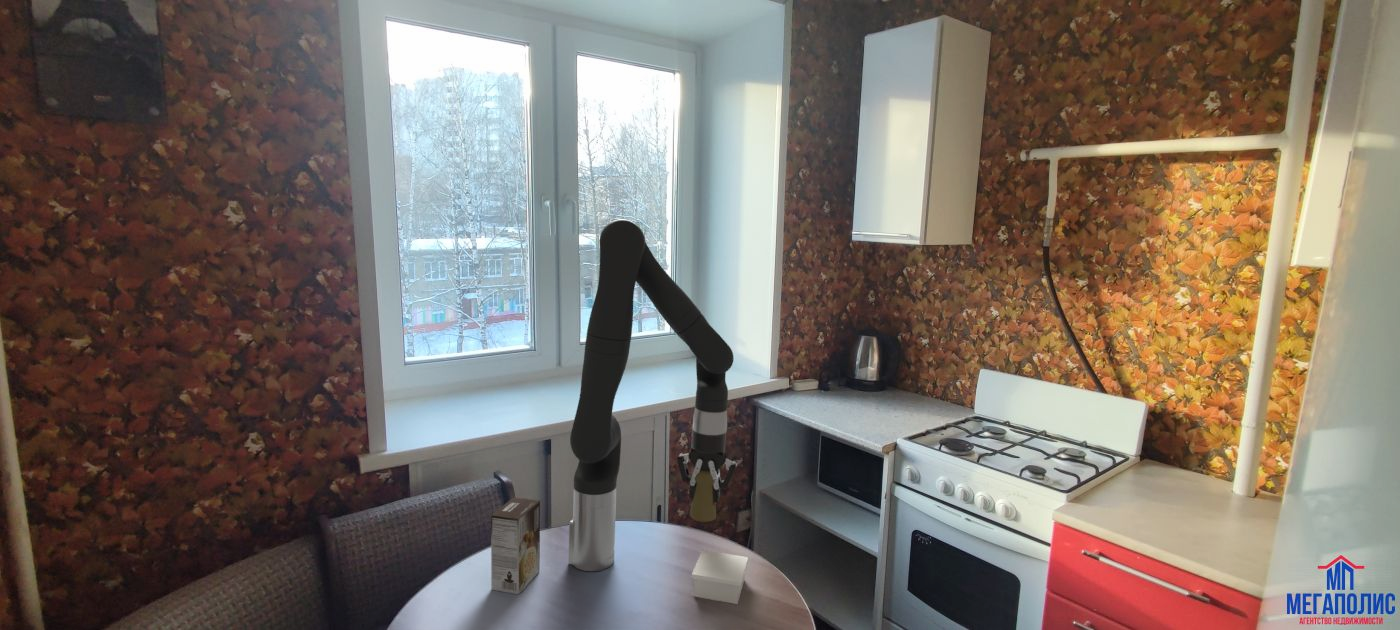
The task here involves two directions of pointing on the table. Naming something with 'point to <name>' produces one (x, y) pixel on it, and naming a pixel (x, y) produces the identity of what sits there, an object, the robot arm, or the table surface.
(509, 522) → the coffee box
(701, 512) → the cork
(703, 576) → the podium
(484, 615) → the table surface
